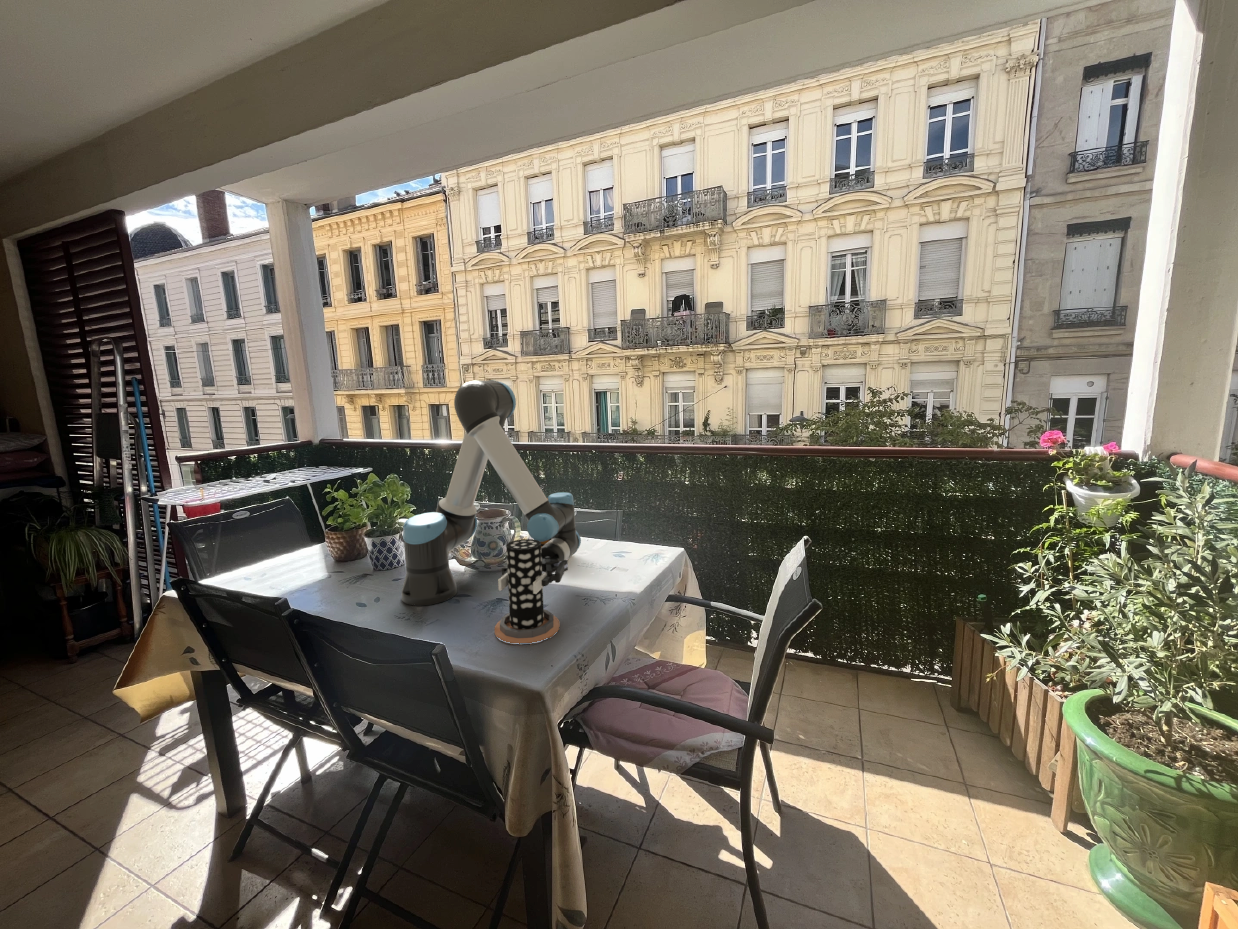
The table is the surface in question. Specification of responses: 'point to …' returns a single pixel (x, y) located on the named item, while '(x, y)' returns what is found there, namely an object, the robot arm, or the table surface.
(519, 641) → the collar plate
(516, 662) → the table surface
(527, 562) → the white-spotted black cylinder
